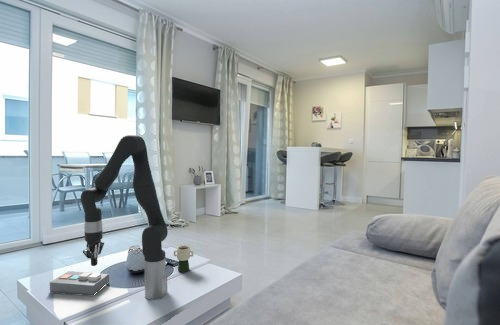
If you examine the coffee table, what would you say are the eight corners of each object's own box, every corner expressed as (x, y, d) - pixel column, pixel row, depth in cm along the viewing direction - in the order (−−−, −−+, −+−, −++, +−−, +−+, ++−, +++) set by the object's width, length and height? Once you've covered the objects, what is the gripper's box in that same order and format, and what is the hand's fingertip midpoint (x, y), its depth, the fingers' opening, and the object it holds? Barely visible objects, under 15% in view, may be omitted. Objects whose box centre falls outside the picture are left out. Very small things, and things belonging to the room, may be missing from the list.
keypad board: (109, 283, 146) (109, 273, 145) (93, 296, 134) (93, 285, 134) (68, 280, 148) (68, 271, 148) (50, 292, 136) (49, 282, 136)
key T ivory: (101, 281, 142) (100, 273, 141) (96, 285, 138) (95, 277, 138) (93, 281, 142) (93, 273, 142) (88, 284, 138) (88, 276, 138)
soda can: (137, 271, 160) (136, 250, 159) (125, 270, 161) (125, 249, 161) (144, 266, 167) (143, 245, 166) (133, 265, 168) (132, 244, 168)
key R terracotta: (72, 282, 144) (72, 274, 143) (67, 286, 140) (66, 278, 140) (65, 282, 144) (65, 274, 144) (59, 285, 140) (59, 277, 140)
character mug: (194, 267, 166) (194, 245, 165) (192, 273, 158) (192, 249, 158) (175, 267, 166) (175, 245, 165) (172, 273, 158) (171, 249, 158)
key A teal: (82, 283, 143) (81, 275, 143) (76, 286, 139) (76, 278, 139) (74, 282, 143) (74, 274, 143) (69, 286, 140) (69, 278, 139)
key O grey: (91, 281, 142) (91, 273, 142) (86, 284, 139) (86, 276, 138) (84, 280, 143) (84, 272, 142) (78, 284, 139) (78, 276, 139)
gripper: (91, 234, 131) (92, 271, 133) (109, 226, 145) (109, 260, 146) (76, 233, 132) (77, 270, 133) (95, 225, 145) (95, 259, 146)
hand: (94, 265), depth 140 cm, fingers closed
